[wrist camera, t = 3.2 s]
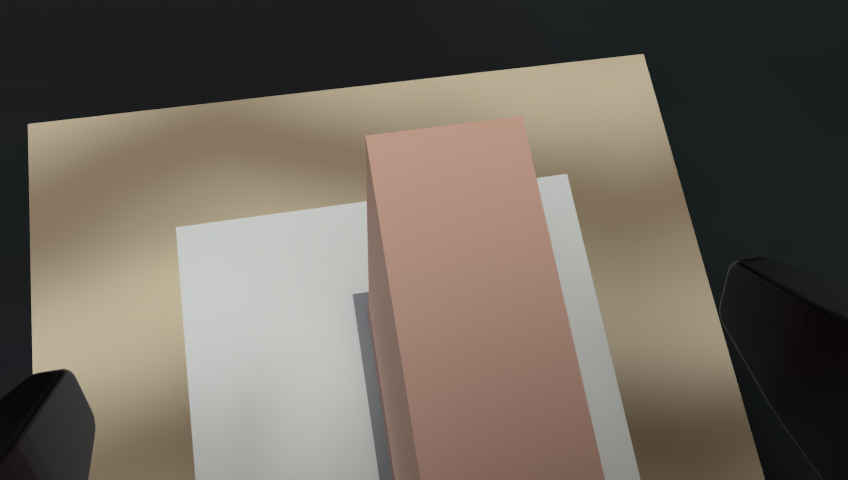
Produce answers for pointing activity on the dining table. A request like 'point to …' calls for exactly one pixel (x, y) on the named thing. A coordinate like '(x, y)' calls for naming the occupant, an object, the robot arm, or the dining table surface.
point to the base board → (346, 183)
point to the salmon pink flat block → (470, 311)
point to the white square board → (333, 344)
